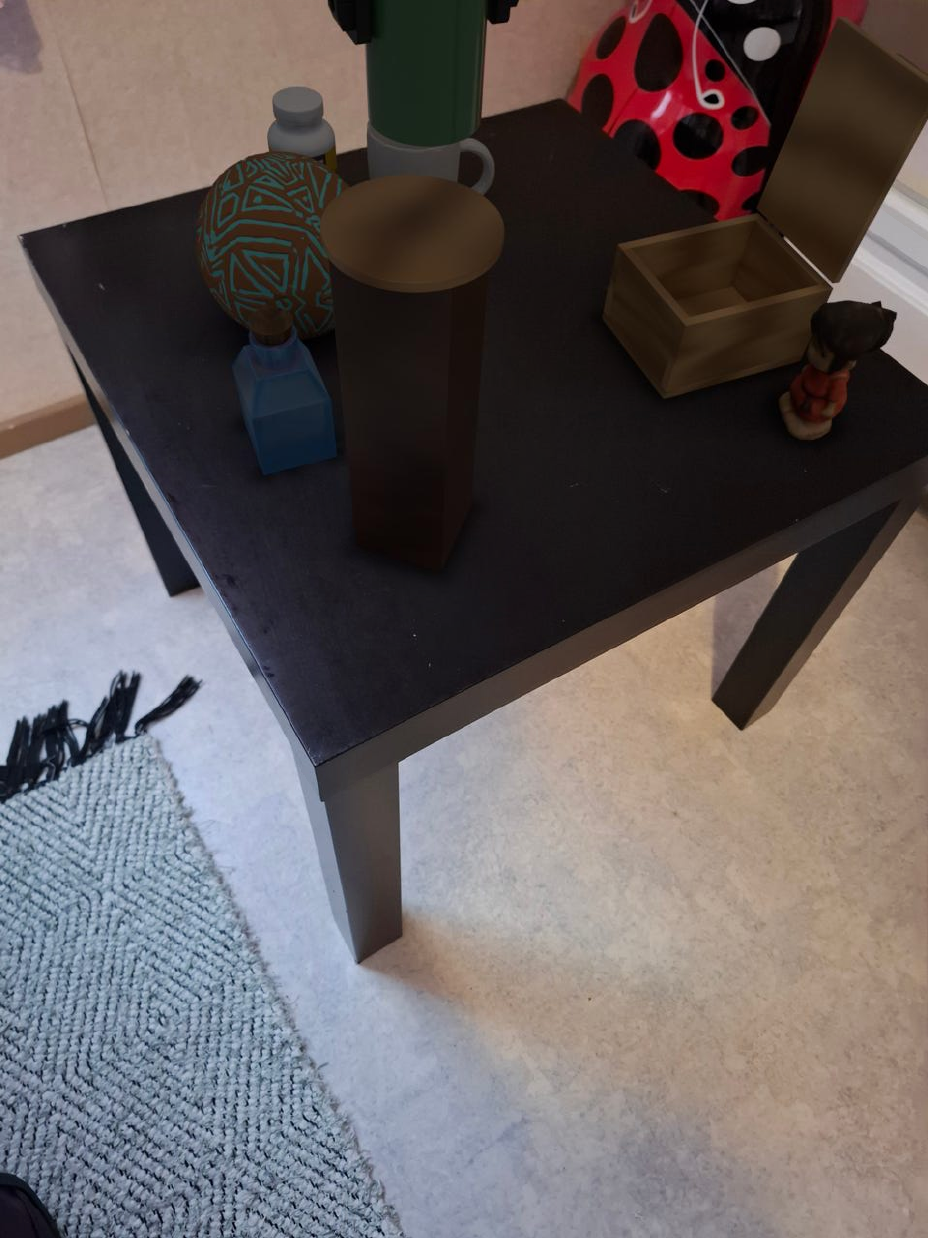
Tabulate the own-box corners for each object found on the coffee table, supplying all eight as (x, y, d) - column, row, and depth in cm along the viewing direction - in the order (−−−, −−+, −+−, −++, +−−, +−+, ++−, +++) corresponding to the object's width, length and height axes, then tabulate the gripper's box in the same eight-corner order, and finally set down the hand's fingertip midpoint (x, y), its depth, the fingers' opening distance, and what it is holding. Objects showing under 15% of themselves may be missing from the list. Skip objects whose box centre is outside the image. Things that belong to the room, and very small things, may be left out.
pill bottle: (291, 239, 89) (276, 122, 79) (268, 206, 92) (251, 88, 82) (351, 224, 91) (343, 108, 81) (326, 192, 94) (316, 75, 84)
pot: (502, 101, 45) (518, -106, 38) (462, 161, 41) (471, -54, 34) (390, 76, 46) (386, -131, 38) (343, 133, 42) (328, -82, 35)
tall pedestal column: (494, 499, 71) (527, 197, 49) (453, 594, 65) (469, 301, 44) (379, 465, 72) (362, 158, 51) (329, 555, 67) (288, 255, 46)
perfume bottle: (337, 456, 73) (324, 338, 63) (263, 475, 71) (238, 356, 61) (315, 406, 76) (300, 286, 66) (244, 423, 74) (217, 303, 64)
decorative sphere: (183, 313, 82) (140, 153, 69) (314, 253, 88) (296, 96, 75) (276, 400, 76) (248, 243, 63) (409, 330, 82) (408, 173, 69)
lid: (937, 88, 62) (989, 85, 64) (837, 16, 68) (887, 14, 70) (832, 283, 75) (878, 276, 76) (755, 208, 81) (800, 203, 82)
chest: (663, 399, 78) (685, 325, 72) (601, 318, 84) (617, 243, 77) (800, 361, 82) (833, 287, 75) (732, 286, 88) (757, 212, 81)
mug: (378, 252, 88) (375, 153, 80) (363, 202, 93) (358, 103, 85) (501, 240, 90) (509, 142, 82) (480, 191, 95) (486, 94, 87)
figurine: (800, 384, 80) (855, 268, 70) (850, 419, 78) (914, 304, 68) (756, 413, 78) (806, 297, 68) (806, 450, 75) (865, 336, 65)
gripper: (587, -604, 30) (533, -26, 44) (159, -625, 26) (249, 11, 40) (702, -582, 26) (602, 42, 40) (221, -603, 22) (296, 90, 36)
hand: (425, 25), depth 40 cm, fingers closed on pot, 6 cm apart
